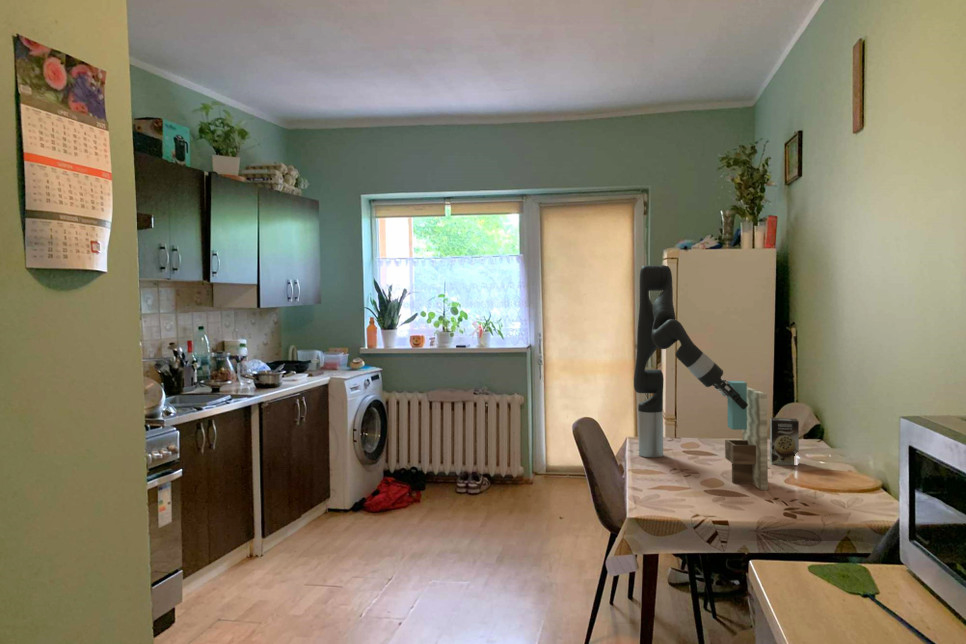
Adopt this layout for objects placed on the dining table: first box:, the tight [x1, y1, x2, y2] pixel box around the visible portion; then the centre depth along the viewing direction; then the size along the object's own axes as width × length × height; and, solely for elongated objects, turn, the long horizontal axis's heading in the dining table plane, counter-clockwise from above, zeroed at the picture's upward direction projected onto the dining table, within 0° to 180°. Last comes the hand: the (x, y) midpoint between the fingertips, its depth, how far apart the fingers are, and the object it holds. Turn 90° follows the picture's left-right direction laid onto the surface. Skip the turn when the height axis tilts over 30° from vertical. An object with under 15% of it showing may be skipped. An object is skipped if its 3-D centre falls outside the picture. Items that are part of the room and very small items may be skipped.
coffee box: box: [769, 417, 800, 467], centre depth 242 cm, size 9×6×16 cm
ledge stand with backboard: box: [724, 386, 769, 491], centre depth 217 cm, size 18×9×30 cm, turn 176°
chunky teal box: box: [726, 380, 748, 431], centre depth 217 cm, size 6×4×15 cm
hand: (742, 405), depth 217 cm, fingers closed on chunky teal box, 5 cm apart
